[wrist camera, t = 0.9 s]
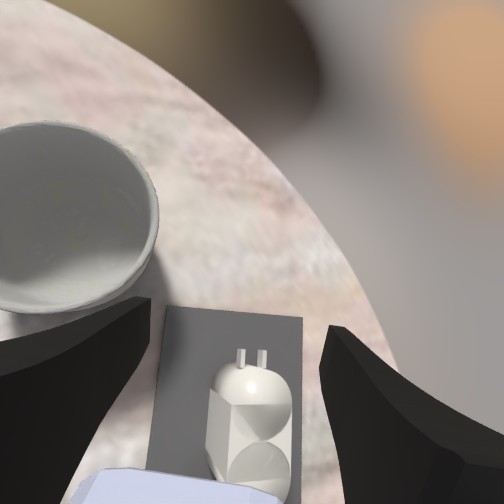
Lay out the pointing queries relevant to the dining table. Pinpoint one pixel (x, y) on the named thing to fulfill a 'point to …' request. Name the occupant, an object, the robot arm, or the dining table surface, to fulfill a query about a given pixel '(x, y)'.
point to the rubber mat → (200, 377)
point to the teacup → (70, 218)
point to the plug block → (250, 426)
